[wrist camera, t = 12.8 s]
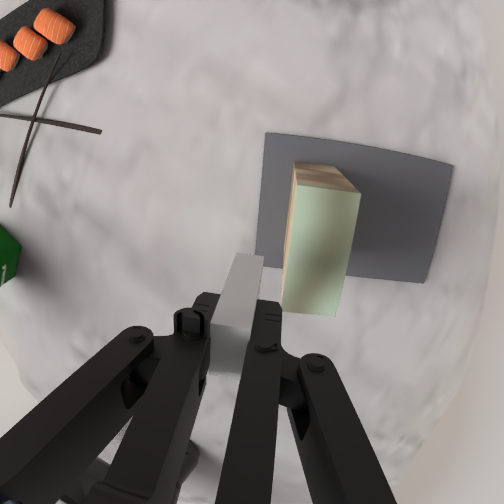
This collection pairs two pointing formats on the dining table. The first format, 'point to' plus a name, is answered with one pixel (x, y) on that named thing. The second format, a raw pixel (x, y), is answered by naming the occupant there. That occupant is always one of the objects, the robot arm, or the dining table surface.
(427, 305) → the dining table surface
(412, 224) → the rubber mat
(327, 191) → the oak slab
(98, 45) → the sushi plate
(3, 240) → the milk carton
